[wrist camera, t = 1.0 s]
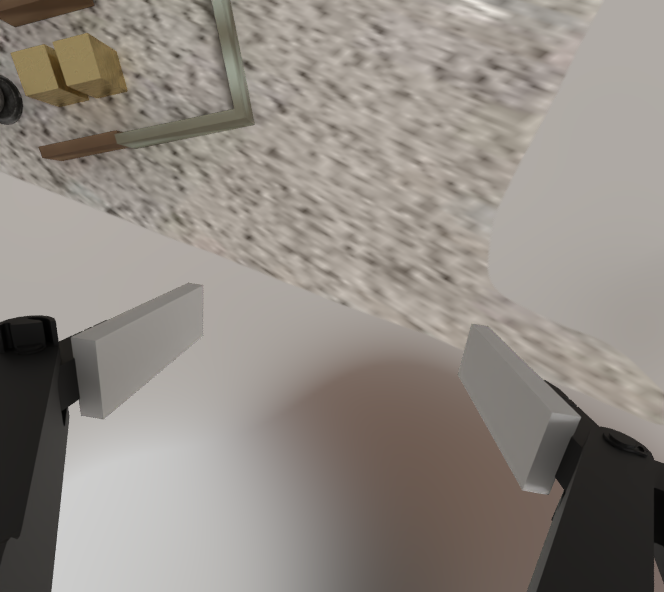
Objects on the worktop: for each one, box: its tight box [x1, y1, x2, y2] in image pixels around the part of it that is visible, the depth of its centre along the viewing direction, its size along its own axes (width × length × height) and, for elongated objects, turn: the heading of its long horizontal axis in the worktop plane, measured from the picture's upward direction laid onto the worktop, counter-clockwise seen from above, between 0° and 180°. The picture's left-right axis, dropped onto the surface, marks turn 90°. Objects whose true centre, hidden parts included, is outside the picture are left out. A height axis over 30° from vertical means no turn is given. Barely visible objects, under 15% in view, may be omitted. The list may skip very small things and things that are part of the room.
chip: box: [53, 33, 127, 98], centre depth 34 cm, size 4×4×4 cm
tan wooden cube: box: [11, 44, 89, 107], centre depth 35 cm, size 4×4×4 cm
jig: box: [0, 0, 255, 161], centre depth 34 cm, size 16×25×3 cm, turn 99°
